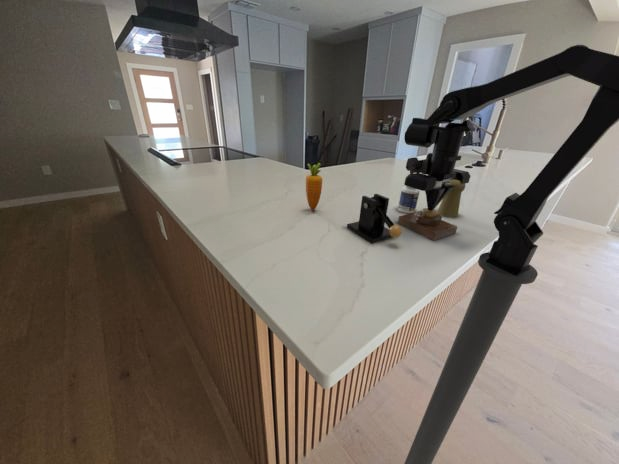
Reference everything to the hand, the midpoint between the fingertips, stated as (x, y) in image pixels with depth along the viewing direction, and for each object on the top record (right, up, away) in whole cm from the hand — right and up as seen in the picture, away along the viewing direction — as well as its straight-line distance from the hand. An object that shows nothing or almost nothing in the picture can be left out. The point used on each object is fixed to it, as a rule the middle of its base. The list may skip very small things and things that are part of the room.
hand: (430, 210), depth 69 cm
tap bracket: (-17, -6, -1) cm, 18 cm away
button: (0, -2, +1) cm, 2 cm away
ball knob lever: (-15, -3, -6) cm, 16 cm away
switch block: (0, -5, +3) cm, 6 cm away
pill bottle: (-1, +1, +15) cm, 15 cm away
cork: (+12, 0, +13) cm, 17 cm away
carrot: (-32, +1, +12) cm, 34 cm away
